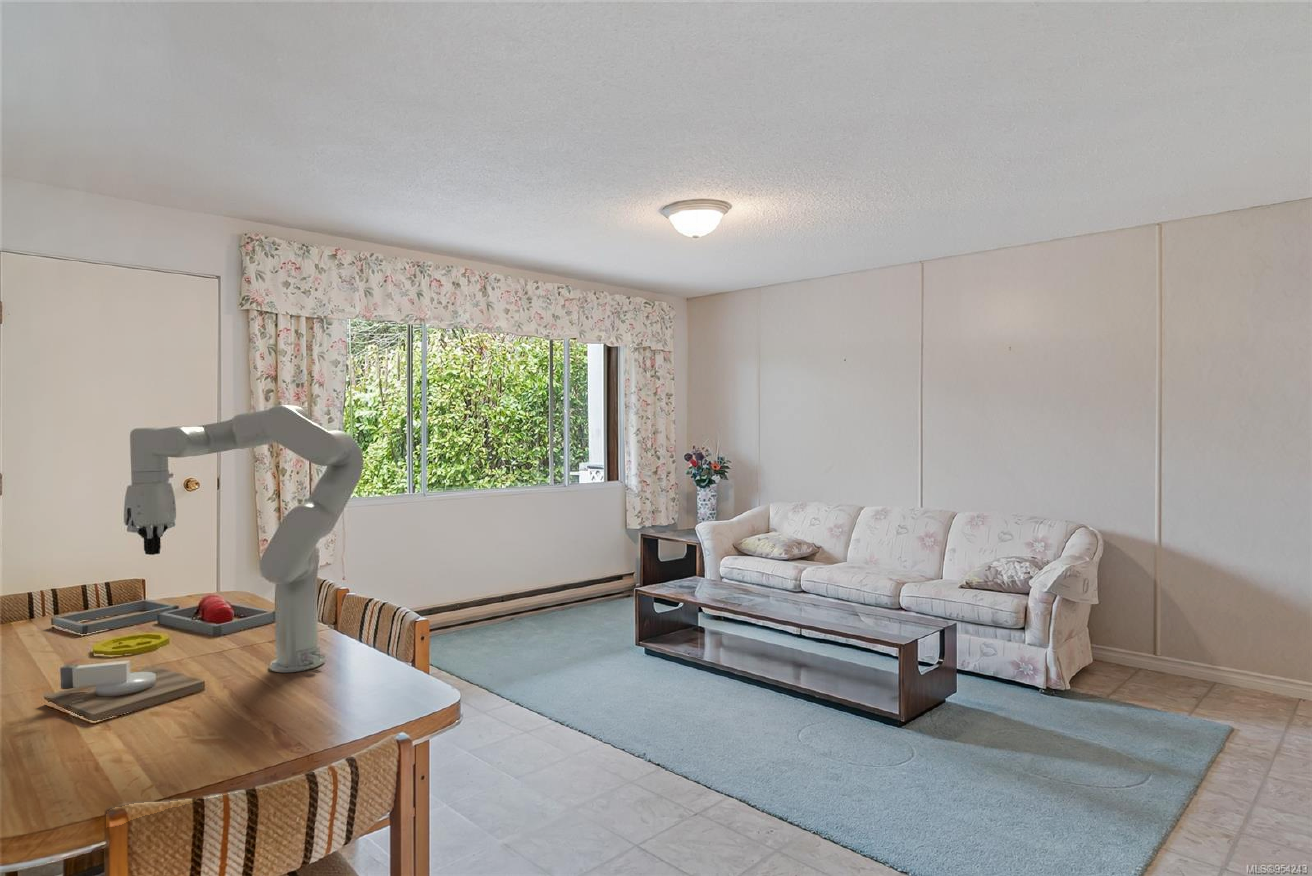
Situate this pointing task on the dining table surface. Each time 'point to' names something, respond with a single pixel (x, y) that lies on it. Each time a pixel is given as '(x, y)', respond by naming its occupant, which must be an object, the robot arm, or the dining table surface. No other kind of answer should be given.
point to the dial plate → (126, 696)
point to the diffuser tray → (138, 618)
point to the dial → (106, 678)
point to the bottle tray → (182, 621)
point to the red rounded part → (214, 610)
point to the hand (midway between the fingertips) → (152, 553)
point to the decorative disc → (132, 644)
